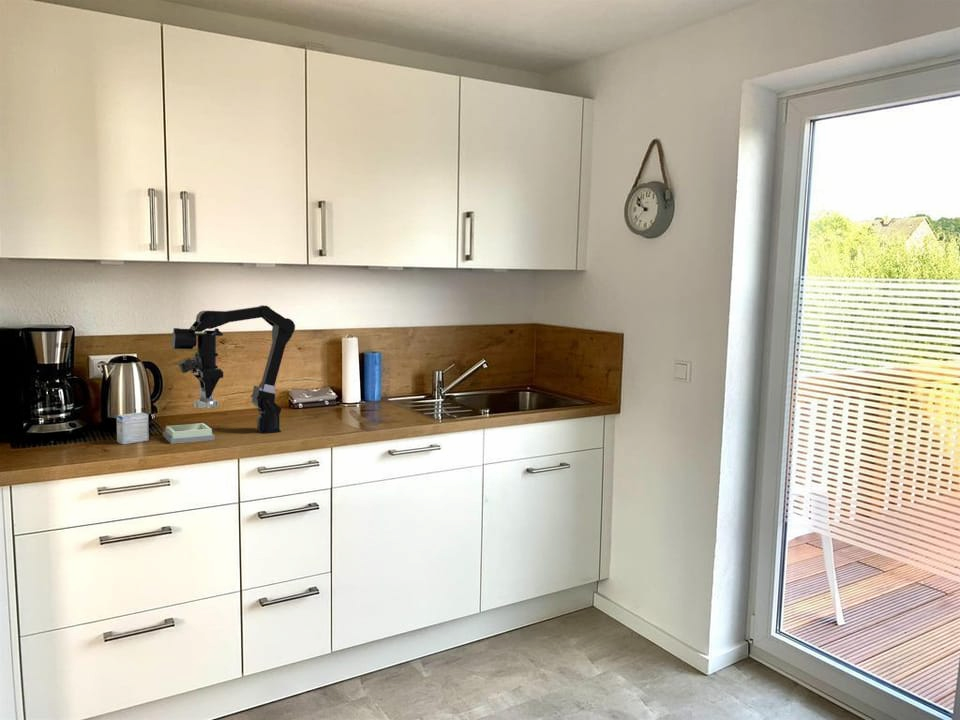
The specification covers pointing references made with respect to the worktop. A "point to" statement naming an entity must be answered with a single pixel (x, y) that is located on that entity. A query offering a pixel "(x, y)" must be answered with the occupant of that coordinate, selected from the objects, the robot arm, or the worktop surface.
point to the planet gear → (205, 401)
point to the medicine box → (132, 428)
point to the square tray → (188, 433)
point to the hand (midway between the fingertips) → (206, 397)
